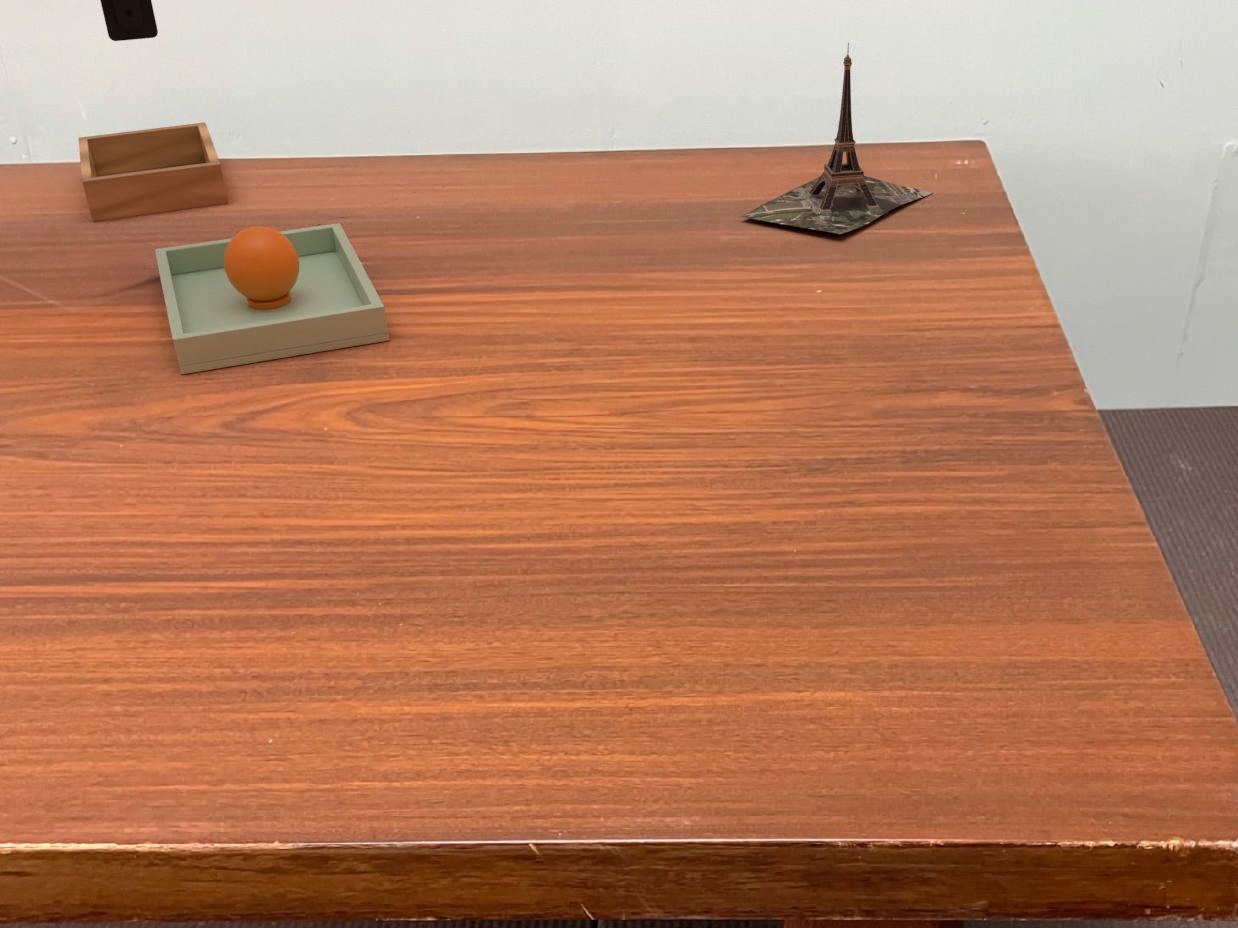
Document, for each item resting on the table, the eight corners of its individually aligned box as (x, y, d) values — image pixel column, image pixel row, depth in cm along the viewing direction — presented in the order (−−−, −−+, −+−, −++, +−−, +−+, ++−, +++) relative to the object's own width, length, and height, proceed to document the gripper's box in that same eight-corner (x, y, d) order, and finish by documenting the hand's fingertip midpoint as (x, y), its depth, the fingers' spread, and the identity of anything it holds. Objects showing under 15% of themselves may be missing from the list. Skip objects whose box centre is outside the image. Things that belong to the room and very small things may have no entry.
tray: (389, 340, 105) (384, 306, 103) (181, 374, 101) (172, 339, 100) (345, 253, 120) (339, 222, 119) (162, 280, 116) (154, 248, 115)
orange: (260, 321, 107) (244, 246, 104) (218, 304, 110) (202, 230, 107) (320, 299, 110) (306, 225, 107) (278, 283, 113) (264, 211, 110)
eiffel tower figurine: (834, 174, 133) (839, 17, 125) (933, 192, 128) (945, 29, 120) (740, 221, 124) (739, 53, 116) (843, 243, 118) (849, 69, 111)
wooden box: (230, 210, 130) (220, 163, 128) (94, 228, 127) (82, 181, 125) (214, 165, 142) (205, 122, 139) (89, 181, 139) (78, 137, 136)
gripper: (8, -270, 99) (74, 4, 109) (1, -255, 85) (76, 56, 95) (124, -274, 100) (178, -4, 110) (135, -260, 87) (195, 45, 97)
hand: (131, 23), depth 103 cm, fingers open, 9 cm apart
